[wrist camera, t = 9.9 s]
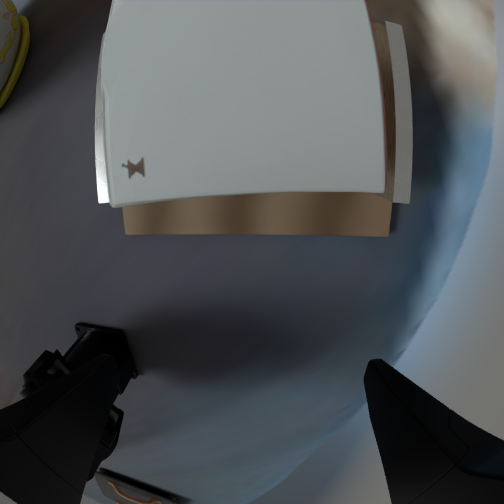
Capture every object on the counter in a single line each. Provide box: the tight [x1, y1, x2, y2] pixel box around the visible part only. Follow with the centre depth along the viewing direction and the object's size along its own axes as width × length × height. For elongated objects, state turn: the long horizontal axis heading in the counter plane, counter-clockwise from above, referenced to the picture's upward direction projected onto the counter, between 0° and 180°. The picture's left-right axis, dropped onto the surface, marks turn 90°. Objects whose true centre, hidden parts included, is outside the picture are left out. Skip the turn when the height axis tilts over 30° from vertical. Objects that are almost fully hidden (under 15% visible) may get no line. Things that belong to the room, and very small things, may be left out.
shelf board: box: [122, 22, 392, 237], centre depth 17 cm, size 20×17×1 cm
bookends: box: [95, 21, 413, 204], centre depth 13 cm, size 20×10×6 cm, turn 90°
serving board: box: [94, 468, 180, 504], centre depth 45 cm, size 39×23×6 cm, turn 160°
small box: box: [101, 0, 387, 208], centre depth 10 cm, size 8×6×13 cm
